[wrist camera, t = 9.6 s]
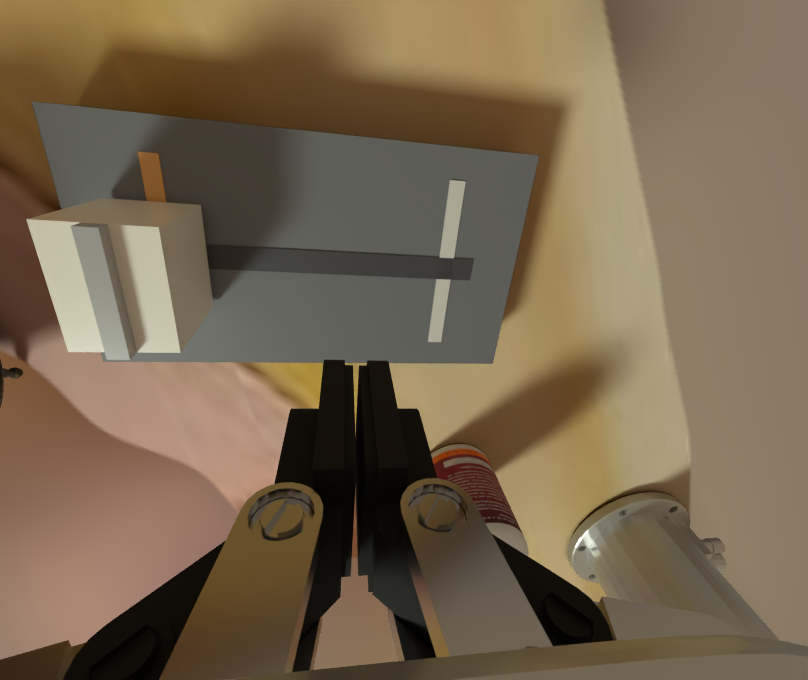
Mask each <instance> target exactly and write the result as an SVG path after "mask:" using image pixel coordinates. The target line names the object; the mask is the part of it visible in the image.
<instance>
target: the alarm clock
mask: <svg viewBox="0 0 808 680" xmlns="http://www.w3.org/2000/svg"><path fill="white" fill-rule="evenodd" d="M22 374H23V371H22V370H21V369H19V368H11V369H9V370H7V369H4V368H2V364H1V360H0V406H1V403H2V398H3V385H4V384H3V383H4V379H3V378H6V377H10V378H15V379H16V378H19V377H20V376H21V375H22Z"/></svg>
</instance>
